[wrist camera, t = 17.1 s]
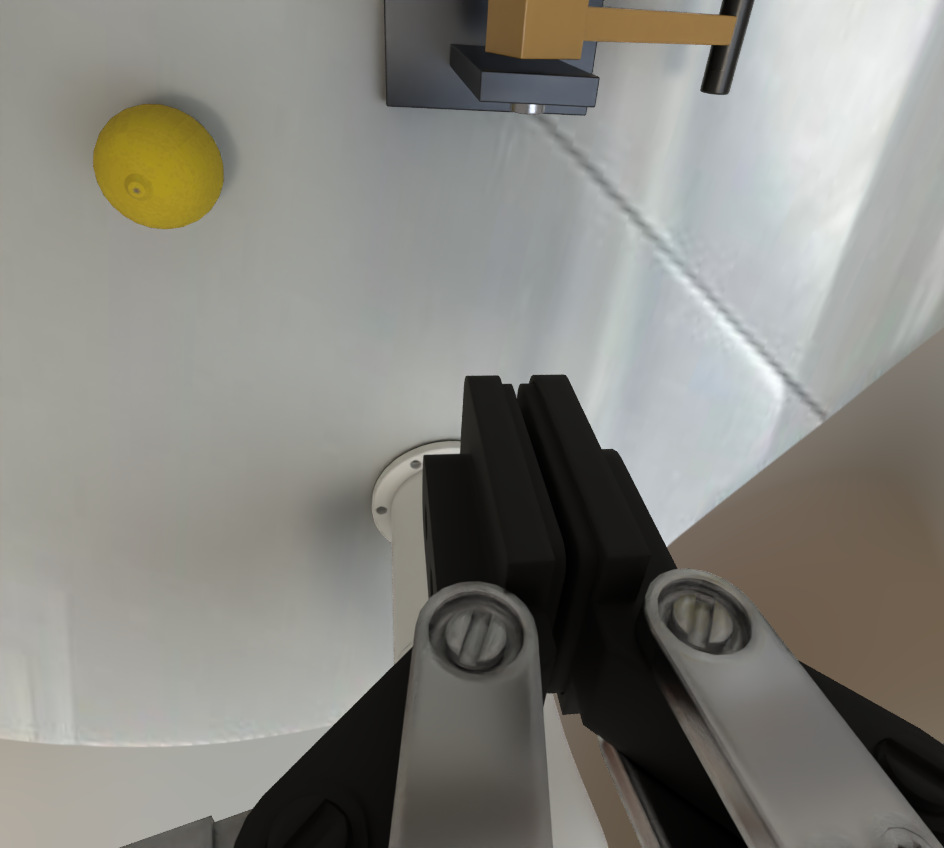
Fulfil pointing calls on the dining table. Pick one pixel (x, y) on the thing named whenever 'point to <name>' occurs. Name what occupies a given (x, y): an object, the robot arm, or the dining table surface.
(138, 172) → the lemon
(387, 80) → the bracket
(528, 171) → the dining table surface
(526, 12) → the lever
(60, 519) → the dining table surface
